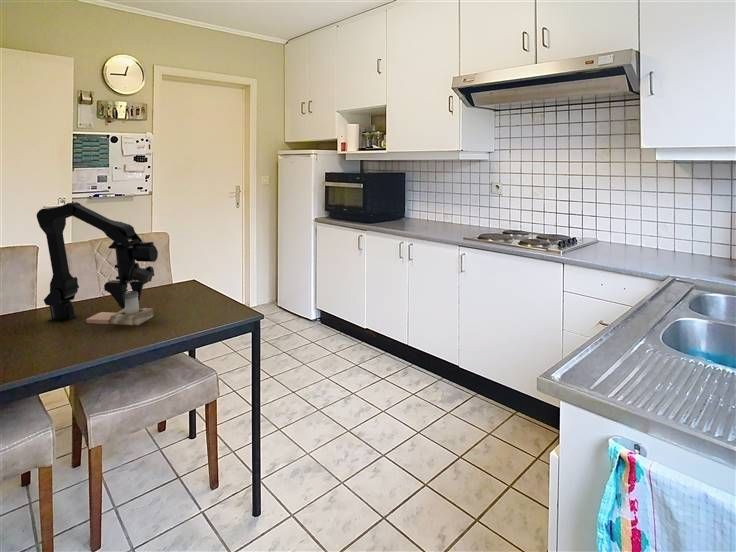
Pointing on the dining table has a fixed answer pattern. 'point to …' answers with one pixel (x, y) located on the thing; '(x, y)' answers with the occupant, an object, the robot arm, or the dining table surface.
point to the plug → (131, 303)
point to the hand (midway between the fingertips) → (130, 304)
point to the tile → (100, 318)
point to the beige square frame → (132, 317)
